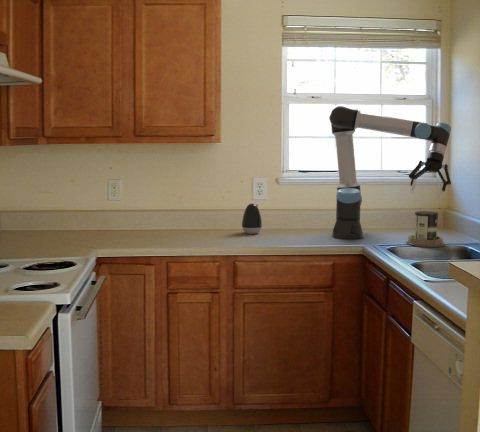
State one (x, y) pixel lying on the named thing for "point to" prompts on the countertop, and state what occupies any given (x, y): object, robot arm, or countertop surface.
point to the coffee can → (426, 225)
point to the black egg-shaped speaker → (252, 219)
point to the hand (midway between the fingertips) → (425, 194)
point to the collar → (425, 242)
